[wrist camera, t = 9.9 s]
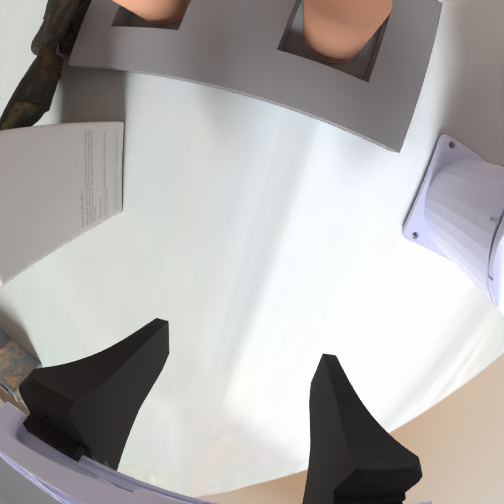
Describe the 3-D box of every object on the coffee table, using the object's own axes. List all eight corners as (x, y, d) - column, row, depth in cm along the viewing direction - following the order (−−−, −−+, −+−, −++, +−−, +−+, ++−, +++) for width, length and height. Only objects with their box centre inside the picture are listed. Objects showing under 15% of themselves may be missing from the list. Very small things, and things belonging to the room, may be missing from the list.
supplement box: (59, 124, 19) (-66, 145, 8) (127, 120, 19) (-18, 131, 7) (59, 206, 22) (-52, 262, 11) (123, 215, 22) (2, 291, 10)
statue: (95, -30, 15) (29, 149, 19) (62, -51, 10) (-20, 146, 14) (143, -48, 14) (68, 150, 18) (110, -77, 9) (10, 144, 13)
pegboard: (431, 12, 12) (442, 3, 11) (389, 150, 17) (399, 152, 15) (134, -50, 13) (123, -59, 11) (83, 67, 17) (67, 64, 16)
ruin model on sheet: (-1, 336, 34) (-35, 368, 25) (-4, 323, 33) (-40, 355, 24) (45, 372, 34) (11, 412, 25) (42, 361, 33) (6, 402, 24)
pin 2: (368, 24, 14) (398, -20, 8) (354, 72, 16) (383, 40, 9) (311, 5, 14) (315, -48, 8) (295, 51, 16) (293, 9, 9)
